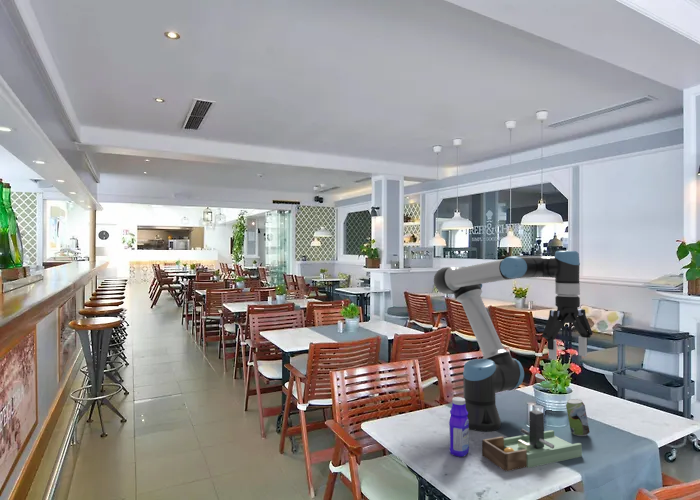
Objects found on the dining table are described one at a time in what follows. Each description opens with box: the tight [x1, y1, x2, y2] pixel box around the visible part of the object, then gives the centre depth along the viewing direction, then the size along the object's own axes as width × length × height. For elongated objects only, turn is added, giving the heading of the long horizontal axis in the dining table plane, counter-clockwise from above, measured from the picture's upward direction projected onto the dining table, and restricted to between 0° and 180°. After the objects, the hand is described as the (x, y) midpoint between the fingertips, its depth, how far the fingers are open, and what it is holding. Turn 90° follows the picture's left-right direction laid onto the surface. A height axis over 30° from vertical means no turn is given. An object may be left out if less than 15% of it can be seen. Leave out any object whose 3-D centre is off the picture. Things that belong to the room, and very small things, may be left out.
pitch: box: [504, 429, 583, 469], centre depth 138 cm, size 22×12×4 cm, turn 110°
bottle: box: [448, 396, 470, 458], centre depth 139 cm, size 7×6×17 cm
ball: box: [504, 447, 514, 453], centre depth 134 cm, size 4×4×4 cm
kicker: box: [518, 409, 554, 451], centre depth 137 cm, size 7×13×11 cm, turn 20°
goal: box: [481, 435, 527, 472], centre depth 133 cm, size 8×11×5 cm
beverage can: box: [565, 398, 590, 437], centre depth 154 cm, size 6×7×12 cm
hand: (567, 357), depth 148 cm, fingers open, 13 cm apart
